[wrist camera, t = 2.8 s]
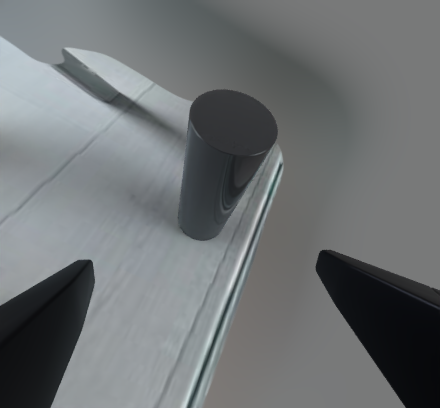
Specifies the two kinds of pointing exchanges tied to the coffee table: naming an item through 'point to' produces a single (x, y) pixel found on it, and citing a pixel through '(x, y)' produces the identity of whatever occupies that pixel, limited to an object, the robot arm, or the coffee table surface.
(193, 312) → the coffee table surface
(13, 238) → the coffee table surface
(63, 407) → the coffee table surface
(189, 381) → the coffee table surface
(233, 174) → the dark grey cylinder
